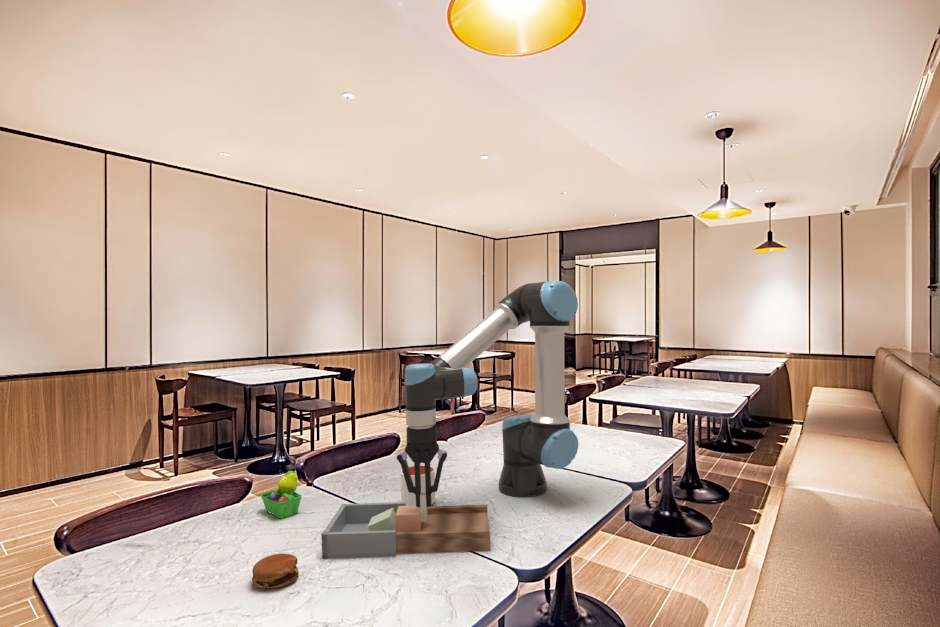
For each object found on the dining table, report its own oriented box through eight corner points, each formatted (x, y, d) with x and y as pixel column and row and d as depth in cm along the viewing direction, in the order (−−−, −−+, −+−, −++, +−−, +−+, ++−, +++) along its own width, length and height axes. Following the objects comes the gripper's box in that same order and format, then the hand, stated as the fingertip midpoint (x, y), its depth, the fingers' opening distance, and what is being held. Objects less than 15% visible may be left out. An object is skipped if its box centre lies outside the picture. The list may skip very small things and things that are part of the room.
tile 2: (422, 520, 131) (422, 505, 131) (420, 530, 125) (419, 514, 125) (399, 521, 131) (398, 506, 131) (395, 531, 125) (395, 515, 125)
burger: (247, 578, 111) (247, 556, 111) (291, 565, 116) (290, 544, 116) (257, 598, 102) (257, 575, 102) (304, 583, 108) (303, 561, 108)
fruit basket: (259, 512, 149) (258, 473, 149) (288, 503, 155) (287, 466, 155) (278, 522, 141) (277, 481, 141) (307, 512, 147) (306, 473, 147)
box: (406, 522, 138) (405, 502, 138) (396, 555, 118) (395, 532, 118) (342, 524, 138) (342, 504, 138) (322, 558, 118) (321, 534, 118)
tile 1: (399, 521, 131) (393, 507, 131) (396, 531, 125) (389, 516, 125) (378, 531, 131) (371, 517, 131) (373, 541, 125) (367, 526, 125)
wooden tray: (487, 521, 136) (487, 504, 136) (490, 550, 119) (489, 531, 120) (405, 524, 136) (405, 507, 136) (396, 553, 119) (396, 534, 119)
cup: (430, 511, 145) (429, 476, 145) (396, 509, 147) (395, 475, 147) (439, 498, 155) (438, 465, 155) (407, 497, 157) (406, 464, 157)
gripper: (447, 421, 132) (450, 512, 132) (397, 423, 132) (400, 514, 132) (446, 428, 124) (449, 524, 124) (393, 429, 124) (396, 526, 124)
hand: (424, 519), depth 128 cm, fingers closed
